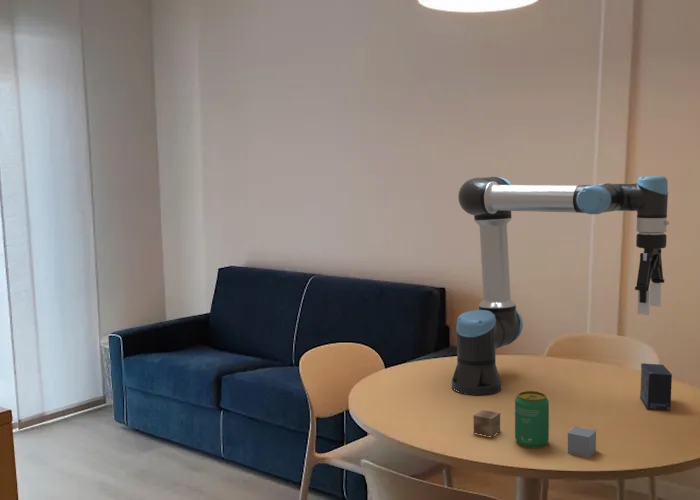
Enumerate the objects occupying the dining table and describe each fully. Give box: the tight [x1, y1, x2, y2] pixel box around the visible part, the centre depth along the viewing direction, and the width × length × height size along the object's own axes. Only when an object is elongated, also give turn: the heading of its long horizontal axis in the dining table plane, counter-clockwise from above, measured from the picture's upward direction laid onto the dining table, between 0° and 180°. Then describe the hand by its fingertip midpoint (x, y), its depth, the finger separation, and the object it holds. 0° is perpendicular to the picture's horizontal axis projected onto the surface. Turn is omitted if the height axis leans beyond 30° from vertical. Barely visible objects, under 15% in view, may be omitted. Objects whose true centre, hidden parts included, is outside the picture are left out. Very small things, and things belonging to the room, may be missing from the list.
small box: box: [639, 363, 673, 412], centre depth 195 cm, size 11×6×10 cm, turn 168°
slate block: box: [567, 426, 597, 458], centre depth 164 cm, size 5×5×5 cm
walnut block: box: [473, 409, 501, 438], centre depth 178 cm, size 5×5×5 cm
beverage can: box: [514, 390, 550, 449], centre depth 170 cm, size 8×8×12 cm
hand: (649, 310), depth 191 cm, fingers open, 13 cm apart
